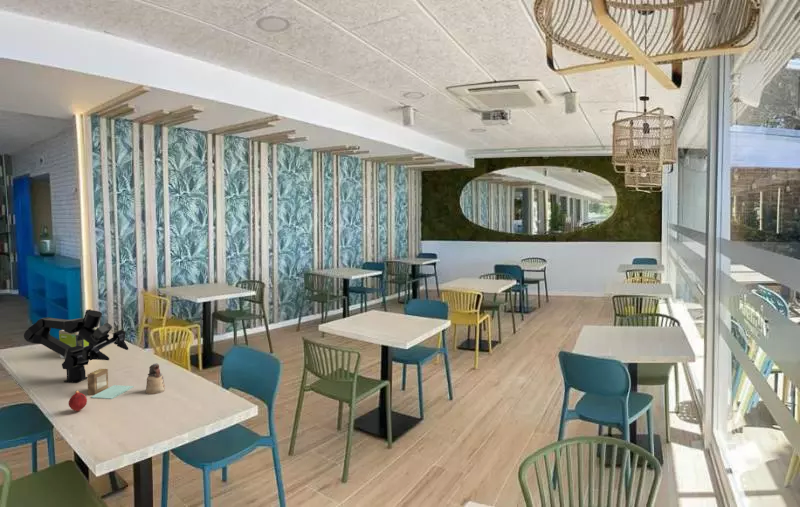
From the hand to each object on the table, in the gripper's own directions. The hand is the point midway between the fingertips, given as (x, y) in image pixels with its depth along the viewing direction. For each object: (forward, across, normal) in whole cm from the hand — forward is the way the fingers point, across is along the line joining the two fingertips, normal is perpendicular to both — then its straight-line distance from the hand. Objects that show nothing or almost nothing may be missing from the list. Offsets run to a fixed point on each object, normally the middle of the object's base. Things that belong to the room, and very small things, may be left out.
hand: (118, 354), depth 210 cm
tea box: (-46, +20, +44) cm, 67 cm away
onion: (+12, -27, +4) cm, 30 cm away
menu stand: (+3, -11, +12) cm, 17 cm away
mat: (+8, -9, +10) cm, 16 cm away
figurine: (+23, 0, +6) cm, 23 cm away
